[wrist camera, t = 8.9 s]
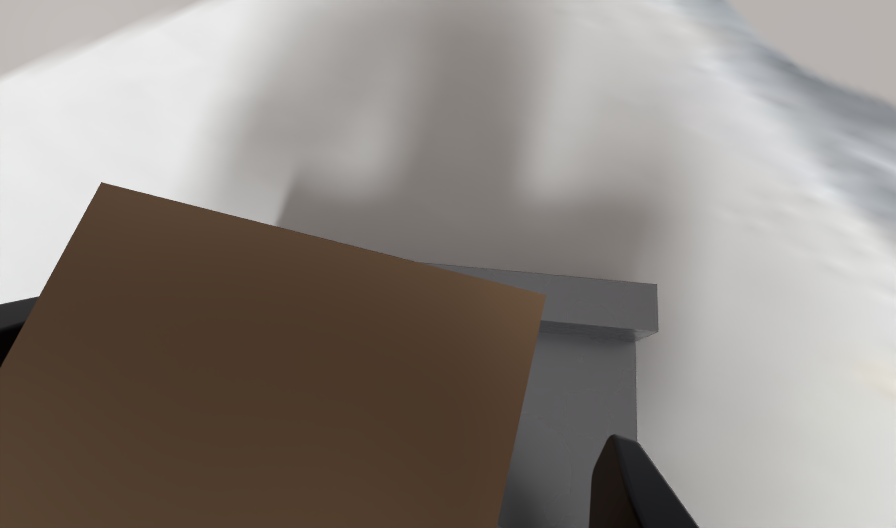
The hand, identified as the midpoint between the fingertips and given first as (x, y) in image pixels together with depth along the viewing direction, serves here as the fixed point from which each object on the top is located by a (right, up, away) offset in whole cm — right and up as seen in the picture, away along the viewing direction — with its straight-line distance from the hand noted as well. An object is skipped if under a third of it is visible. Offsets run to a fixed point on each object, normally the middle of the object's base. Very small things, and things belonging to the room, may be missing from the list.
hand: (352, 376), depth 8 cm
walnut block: (0, -4, +7) cm, 8 cm away
